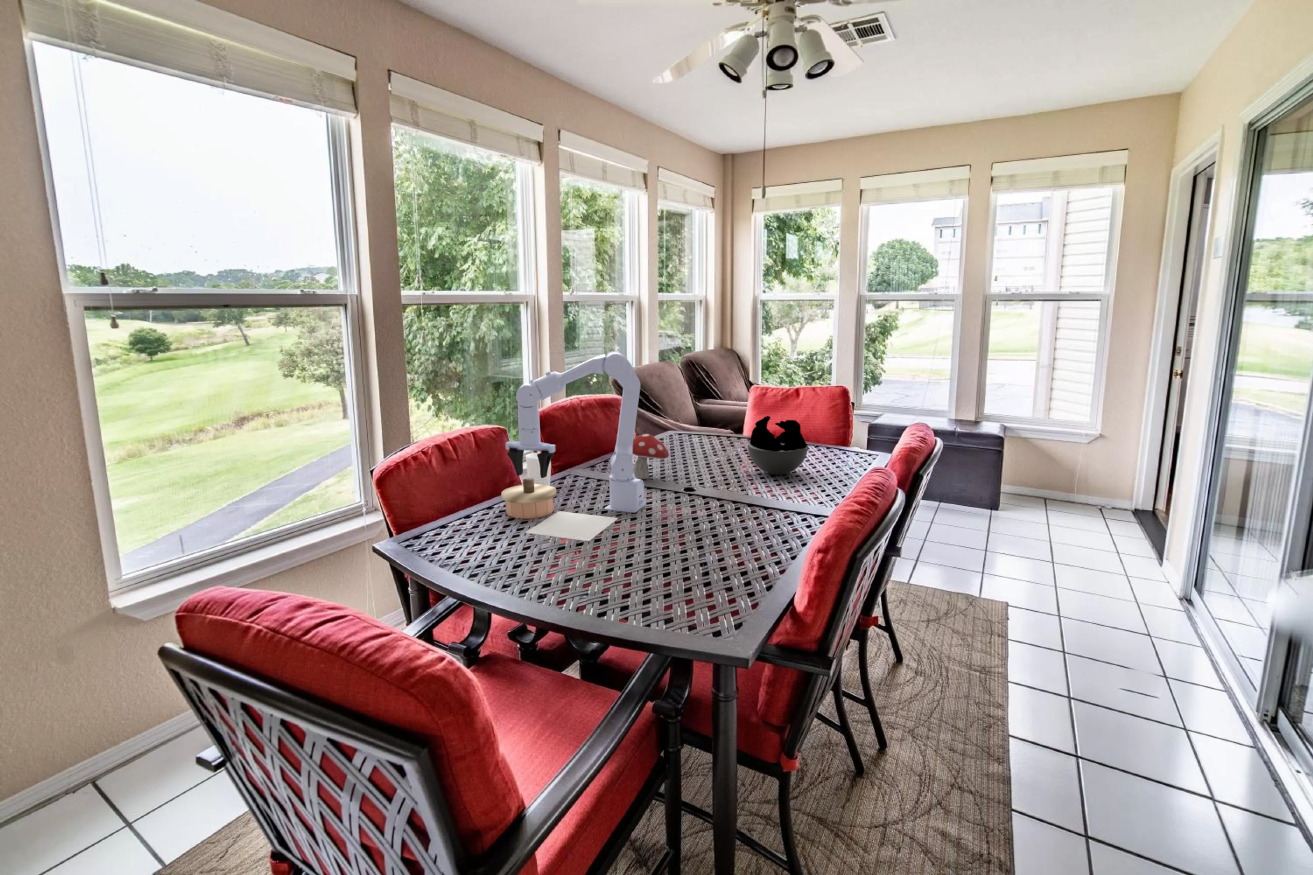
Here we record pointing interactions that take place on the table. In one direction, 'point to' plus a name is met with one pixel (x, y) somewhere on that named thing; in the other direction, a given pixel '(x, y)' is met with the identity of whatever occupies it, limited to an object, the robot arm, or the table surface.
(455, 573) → the table surface
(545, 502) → the terracotta bowl
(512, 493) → the oak lid
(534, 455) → the white cup
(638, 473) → the decorative mushroom
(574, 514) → the white square mat
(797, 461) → the coal bowl
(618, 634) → the table surface
